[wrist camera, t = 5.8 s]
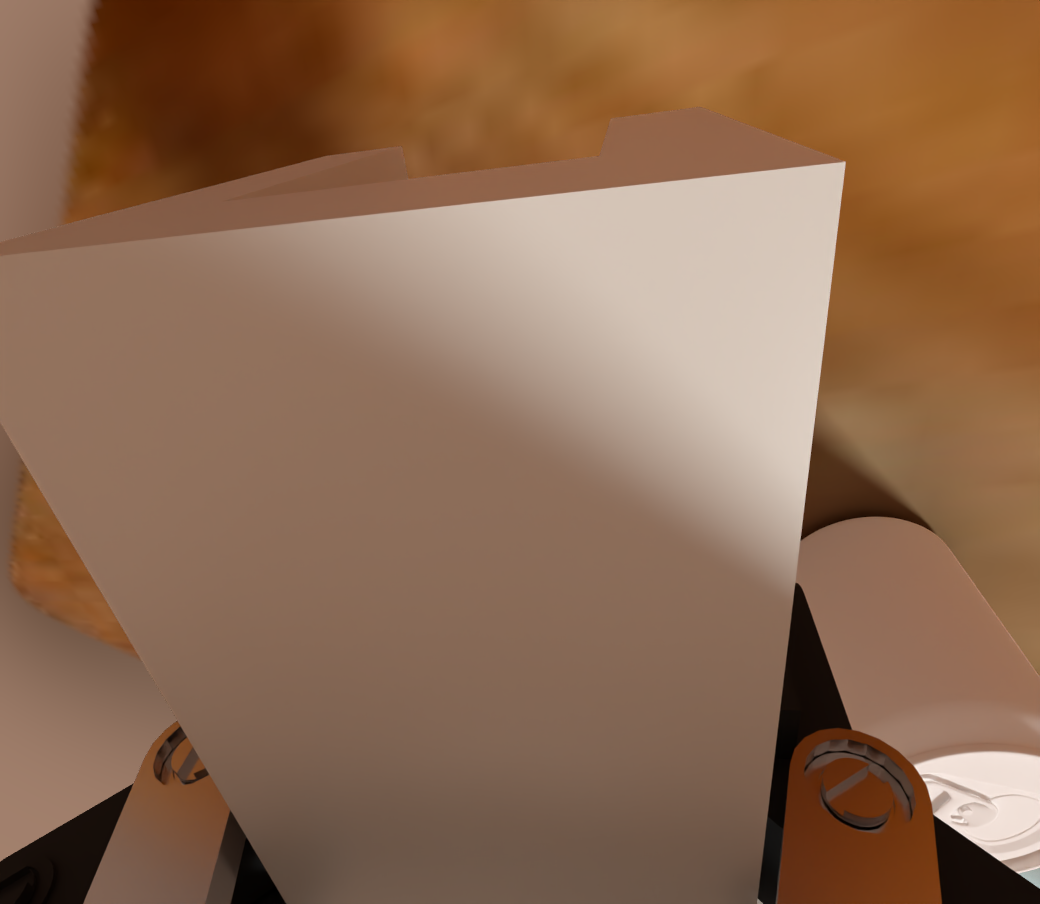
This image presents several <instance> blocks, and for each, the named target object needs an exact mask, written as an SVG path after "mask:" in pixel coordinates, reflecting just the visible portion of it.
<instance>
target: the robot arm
mask: <svg viewBox="0 0 1040 904" xmlns="http://www.w3.org/2000/svg"><path fill="white" fill-rule="evenodd" d="M758 899H759V900H760V901H761V902H762V903H763V904H1040V889H1039V888H1038V887H1036V886H1035V885H1034V884H1032V883H1031V882H1029V881H1028V880H1026V879H1025V878H1023V877H1022V876H1021V875H1019V874H1018V873H1016V872H1015V871H1013V870H1012V869H1011V868H1009V867H1008V866H1006V865H1005V864H1003V863H1002V862H1001V861H999V860H998V859H996V858H995V857H993V856H992V855H991V854H989V853H988V852H986V851H985V850H983V849H982V848H980V847H979V846H978V845H976V844H975V843H973V842H972V841H970V840H969V839H968V838H966V837H965V836H963V835H962V834H960V833H959V832H958V831H956V830H955V829H953V828H952V827H950V826H949V825H948V824H946V823H945V822H943V821H942V820H940V819H939V818H937V817H936V816H935V815H933V810H932V803H931V799H930V796H929V792H928V789H927V785H926V784H925V782H924V781H923V779H922V777H921V776H920V774H919V773H918V771H917V770H916V768H915V767H914V766H913V765H912V764H911V763H910V762H909V761H908V760H907V759H906V758H905V757H904V756H903V755H902V754H901V753H900V752H899V751H898V750H896V749H894V748H893V747H891V746H890V745H888V744H886V743H885V742H883V741H882V740H880V739H878V738H876V737H873V736H870V735H868V734H865V733H862V732H860V731H855V730H852V728H851V725H850V722H849V719H848V716H847V713H846V711H845V708H844V705H843V702H842V699H841V696H840V694H839V691H838V688H837V685H836V682H835V679H834V676H833V674H832V671H831V668H830V665H829V662H828V659H827V657H826V654H825V651H824V648H823V645H822V642H821V640H820V637H819V634H818V631H817V628H816V625H815V622H814V620H813V617H812V614H811V611H810V608H809V605H808V603H807V600H806V597H805V594H804V592H803V590H802V587H801V586H800V585H799V584H798V583H795V589H794V598H793V606H792V614H791V623H790V631H789V640H788V648H787V656H786V665H785V673H784V681H783V690H782V698H781V706H780V715H779V723H778V732H777V740H776V748H775V757H774V765H773V773H772V782H771V790H770V798H769V807H768V815H767V823H766V832H765V840H764V849H763V857H762V865H761V874H760V882H759V890H758ZM0 904H286V903H285V901H284V899H283V898H282V896H281V894H280V892H279V891H278V889H277V887H276V886H275V884H274V882H273V881H272V879H271V877H270V876H269V874H268V872H267V871H266V869H265V867H264V866H263V864H262V862H261V860H260V859H259V857H258V855H257V854H256V852H255V850H254V849H253V847H252V845H251V844H250V842H249V840H248V839H247V837H246V835H245V834H244V832H243V830H242V829H241V827H240V825H239V823H238V822H237V820H236V818H235V817H234V815H233V813H232V812H231V810H230V808H229V807H228V805H227V803H226V802H225V800H224V798H223V797H222V795H221V793H220V792H219V790H218V788H217V786H216V785H215V783H214V781H213V780H212V778H211V776H210V775H209V773H208V771H207V770H206V768H205V766H204V765H203V763H202V761H201V760H200V758H199V756H198V755H197V753H196V751H195V749H194V748H193V746H192V744H191V743H190V741H189V739H188V738H187V736H186V734H185V733H184V731H183V729H182V728H181V726H180V724H179V723H178V721H176V722H175V723H173V724H172V725H171V726H170V727H168V728H167V729H166V730H165V731H164V732H163V733H162V734H161V735H160V736H159V737H158V738H157V739H156V741H155V742H154V743H153V744H152V746H151V748H150V749H149V751H148V753H147V754H146V756H145V758H144V760H143V762H142V765H141V767H140V770H139V772H138V774H137V777H136V779H135V781H134V784H132V785H130V786H128V787H127V788H125V789H123V790H122V791H120V792H118V793H116V794H115V795H113V796H111V797H110V798H108V799H106V800H104V801H103V802H101V803H100V804H98V805H96V806H94V807H92V808H91V809H89V810H87V811H85V812H84V813H82V814H80V815H79V816H77V817H75V818H74V819H72V820H70V821H68V822H67V823H65V824H63V825H62V826H60V827H58V828H56V829H55V830H53V831H51V832H49V833H48V834H46V835H44V836H43V837H41V838H39V839H37V840H36V841H34V842H32V843H31V844H29V845H27V846H26V847H24V848H22V849H20V850H19V851H17V852H15V853H13V854H12V855H10V856H8V857H6V858H5V859H3V860H2V861H1V862H0Z"/></svg>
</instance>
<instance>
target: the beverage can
mask: <svg viewBox="0 0 1040 904" xmlns="http://www.w3.org/2000/svg"><path fill="white" fill-rule="evenodd" d="M795 583H798V584H799V585H800V586H801V587H802V590H803V592H804V594H805V597H806V600H807V603H808V605H809V608H810V611H811V614H812V617H813V620H814V622H815V625H816V628H817V631H818V634H819V637H820V640H821V642H822V645H823V648H824V651H825V654H826V657H827V659H828V662H829V665H830V668H831V671H832V674H833V676H834V679H835V682H836V685H837V688H838V691H839V694H840V696H841V699H842V702H843V705H844V708H845V711H846V713H847V716H848V719H849V722H850V725H851V728H852V730H855V731H860V732H862V733H865V734H868V735H870V736H873V737H876V738H878V739H880V740H882V741H883V742H885V743H886V744H888V745H890V746H891V747H893V748H894V749H896V750H898V751H899V752H900V753H901V754H902V755H903V756H904V757H905V758H906V759H907V760H908V761H909V762H910V763H911V764H912V765H913V766H914V767H915V768H916V770H917V771H918V773H919V774H920V776H921V777H922V779H923V781H924V782H925V784H926V785H927V789H928V792H929V796H930V799H931V803H932V810H933V815H935V816H936V817H937V818H939V819H940V820H942V821H943V822H945V823H946V824H948V825H949V826H950V827H952V828H953V829H955V830H956V831H958V832H959V833H960V834H962V835H963V836H965V837H966V838H968V839H969V840H970V841H972V842H973V843H975V844H976V845H978V846H979V847H980V848H982V849H983V850H985V851H986V852H988V853H989V854H991V855H992V856H993V857H995V858H996V859H998V860H999V861H1001V862H1002V863H1003V864H1005V865H1006V866H1008V867H1009V868H1011V869H1012V870H1013V871H1015V872H1016V873H1022V872H1026V871H1030V870H1033V869H1036V868H1039V867H1040V676H1039V675H1038V674H1037V672H1036V671H1035V669H1034V668H1033V666H1032V665H1031V664H1030V662H1029V661H1028V659H1027V658H1026V657H1025V655H1024V654H1023V652H1022V651H1021V649H1020V648H1019V647H1018V645H1017V644H1016V642H1015V641H1014V640H1013V638H1012V637H1011V635H1010V634H1009V632H1008V631H1007V630H1006V628H1005V627H1004V625H1003V624H1002V623H1001V621H1000V620H999V618H998V617H997V615H996V614H995V613H994V611H993V610H992V608H991V607H990V606H989V604H988V603H987V601H986V600H985V598H984V597H983V596H982V594H981V593H980V591H979V590H978V588H977V587H976V586H975V584H974V583H973V581H972V580H971V579H970V577H969V576H968V574H967V573H966V571H965V570H964V569H963V567H962V566H961V564H960V563H959V562H958V560H957V559H956V557H955V556H954V554H953V553H952V552H951V550H950V549H949V548H948V546H947V545H946V544H945V543H944V541H943V540H942V539H940V538H939V537H938V536H937V535H936V534H934V533H933V532H931V531H930V530H928V529H926V528H924V527H922V526H920V525H918V524H915V523H912V522H909V521H906V520H902V519H897V518H890V517H861V518H854V519H849V520H844V521H841V522H837V523H834V524H831V525H829V526H826V527H824V528H821V529H819V530H817V531H815V532H814V533H812V534H810V535H809V536H807V537H806V538H804V539H803V540H801V541H800V548H799V556H798V564H797V573H796V581H795Z"/></svg>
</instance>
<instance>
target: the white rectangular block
mask: <svg viewBox="0 0 1040 904" xmlns="http://www.w3.org/2000/svg"><path fill="white" fill-rule="evenodd" d="M845 163H846V162H845V161H842V160H840V159H837V158H834V157H832V156H829V155H826V154H824V153H821V152H818V151H816V150H813V149H811V148H808V147H805V146H803V145H800V144H797V143H795V142H792V141H789V140H787V139H784V138H781V137H779V136H776V135H774V134H771V133H768V132H766V131H763V130H760V129H758V128H755V127H752V126H750V125H747V124H744V123H742V122H739V121H737V120H734V119H731V118H729V117H726V116H723V115H721V114H718V113H715V112H713V111H710V110H707V109H705V108H702V107H696V108H688V109H680V110H673V111H665V112H657V113H650V114H642V115H635V116H627V117H619V118H612V119H611V120H610V123H609V126H608V130H607V133H606V136H605V139H604V143H603V146H602V149H601V152H600V156H595V157H587V158H579V159H571V160H562V161H554V162H546V163H538V164H529V165H521V166H513V167H504V168H496V169H488V170H480V171H471V172H463V173H455V174H446V175H438V176H430V177H422V178H413V179H408V176H407V170H406V165H405V160H404V155H403V150H402V146H398V147H391V148H383V149H375V150H368V151H360V152H352V153H345V154H337V155H329V156H324V157H320V158H316V159H313V160H309V161H305V162H301V163H297V164H294V165H290V166H286V167H282V168H278V169H275V170H271V171H267V172H263V173H259V174H256V175H252V176H248V177H244V178H241V179H237V180H233V181H229V182H225V183H222V184H218V185H214V186H210V187H206V188H203V189H199V190H195V191H191V192H187V193H184V194H180V195H176V196H172V197H168V198H165V199H161V200H157V201H153V202H149V203H146V204H142V205H138V206H134V207H130V208H127V209H123V210H119V211H115V212H111V213H108V214H104V215H100V216H96V217H92V218H89V219H85V220H81V221H77V222H73V223H70V224H66V225H62V226H58V227H54V228H51V229H47V230H43V231H39V232H35V233H32V234H28V235H24V236H20V237H17V238H13V239H9V240H5V241H1V242H0V423H1V425H2V426H3V428H4V430H5V431H6V433H7V435H8V436H9V438H10V440H11V442H12V443H13V445H14V447H15V448H16V450H17V452H18V453H19V455H20V457H21V458H22V460H23V462H24V463H25V465H26V467H27V469H28V470H29V472H30V474H31V475H32V477H33V479H34V480H35V482H36V484H37V485H38V487H39V489H40V490H41V492H42V494H43V495H44V497H45V499H46V500H47V502H48V504H49V506H50V507H51V509H52V511H53V512H54V514H55V516H56V517H57V519H58V521H59V522H60V524H61V526H62V527H63V529H64V531H65V532H66V534H67V536H68V538H69V539H70V541H71V543H72V544H73V546H74V548H75V549H76V551H77V553H78V554H79V556H80V558H81V559H82V561H83V563H84V564H85V566H86V568H87V569H88V571H89V573H90V575H91V576H92V578H93V580H94V581H95V583H96V585H97V586H98V588H99V590H100V591H101V593H102V595H103V596H104V598H105V600H106V601H107V603H108V605H109V606H110V608H111V610H112V612H113V613H114V615H115V617H116V618H117V620H118V622H119V623H120V625H121V627H122V628H123V630H124V632H125V633H126V635H127V637H128V638H129V640H130V642H131V643H132V645H133V647H134V649H135V650H136V652H137V654H138V655H139V657H140V659H141V660H142V662H143V664H144V665H145V667H146V669H147V670H148V672H149V674H150V675H151V677H152V679H153V680H154V682H155V684H156V686H157V687H158V689H159V691H160V692H161V694H162V696H163V697H164V699H165V701H166V702H167V704H168V706H169V707H170V709H171V711H172V712H173V714H174V716H175V717H176V719H177V721H178V723H179V724H180V726H181V728H182V729H183V731H184V733H185V734H186V736H187V738H188V739H189V741H190V743H191V744H192V746H193V748H194V749H195V751H196V753H197V755H198V756H199V758H200V760H201V761H202V763H203V765H204V766H205V768H206V770H207V771H208V773H209V775H210V776H211V778H212V780H213V781H214V783H215V785H216V786H217V788H218V790H219V792H220V793H221V795H222V797H223V798H224V800H225V802H226V803H227V805H228V807H229V808H230V810H231V812H232V813H233V815H234V817H235V818H236V820H237V822H238V823H239V825H240V827H241V829H242V830H243V832H244V834H245V835H246V837H247V839H248V840H249V842H250V844H251V845H252V847H253V849H254V850H255V852H256V854H257V855H258V857H259V859H260V860H261V862H262V864H263V866H264V867H265V869H266V871H267V872H268V874H269V876H270V877H271V879H272V881H273V882H274V884H275V886H276V887H277V889H278V891H279V892H280V894H281V896H282V898H283V899H284V901H285V903H286V904H757V899H758V890H759V882H760V874H761V865H762V857H763V849H764V840H765V832H766V823H767V815H768V807H769V798H770V790H771V782H772V773H773V765H774V757H775V748H776V740H777V732H778V723H779V715H780V706H781V698H782V690H783V681H784V673H785V665H786V656H787V648H788V640H789V631H790V623H791V614H792V606H793V598H794V589H795V581H796V573H797V564H798V556H799V548H800V539H801V531H802V522H803V514H804V506H805V497H806V489H807V481H808V472H809V464H810V456H811V447H812V439H813V431H814V422H815V414H816V405H817V397H818V389H819V380H820V372H821V364H822V355H823V347H824V339H825V330H826V322H827V313H828V305H829V297H830V288H831V280H832V272H833V263H834V255H835V247H836V238H837V230H838V221H839V213H840V205H841V196H842V188H843V180H844V171H845Z"/></svg>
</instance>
